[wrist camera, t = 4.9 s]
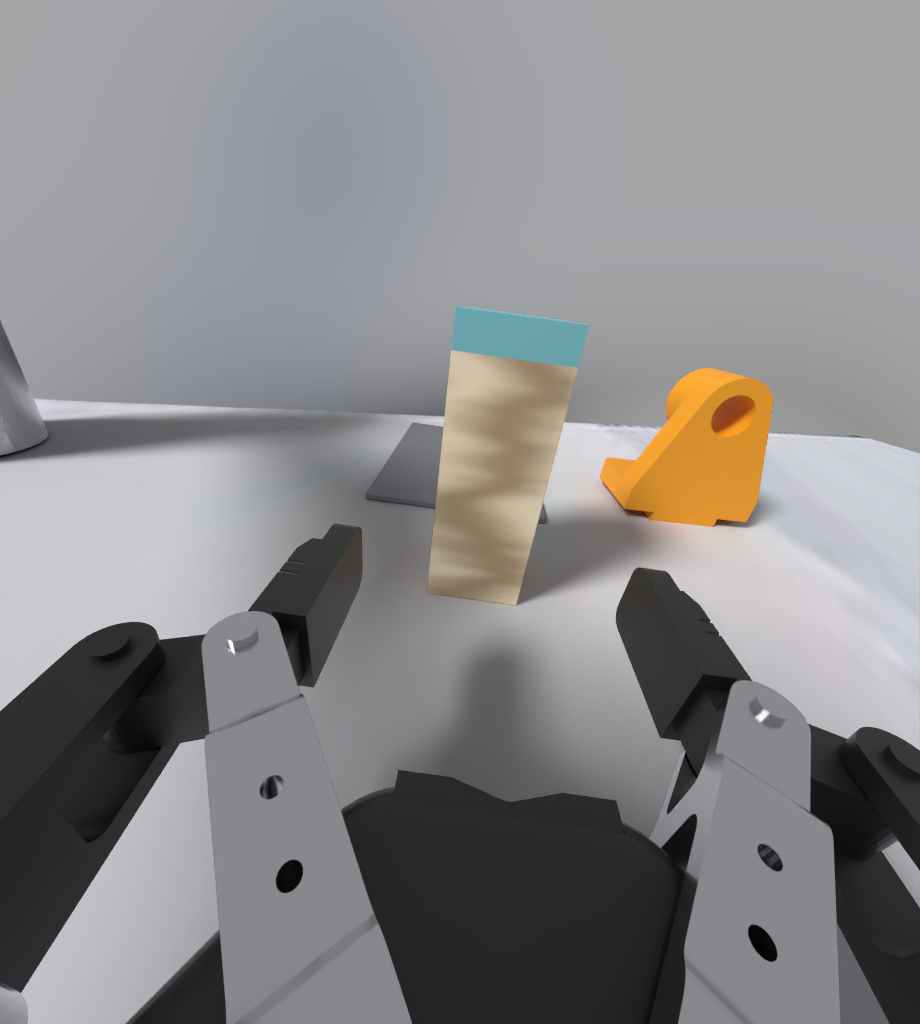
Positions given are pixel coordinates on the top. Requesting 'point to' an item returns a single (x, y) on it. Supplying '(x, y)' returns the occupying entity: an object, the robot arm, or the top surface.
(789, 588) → the top surface
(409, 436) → the rubber mat
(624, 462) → the bracket
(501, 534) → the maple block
